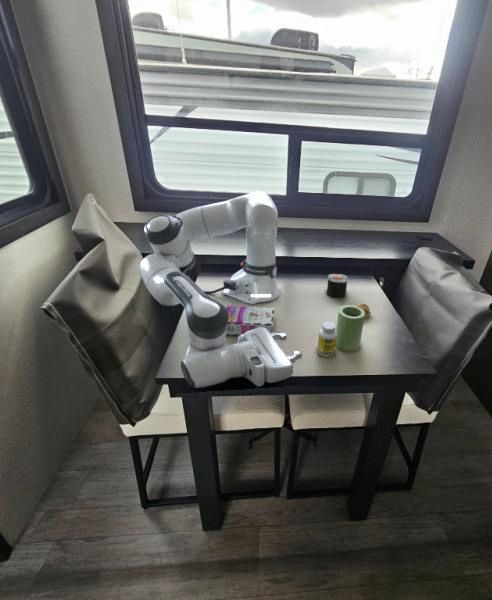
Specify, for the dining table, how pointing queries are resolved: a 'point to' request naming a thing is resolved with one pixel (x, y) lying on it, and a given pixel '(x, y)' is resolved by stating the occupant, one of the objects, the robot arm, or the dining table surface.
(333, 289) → the sushi
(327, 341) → the supplement bottle
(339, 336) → the green vase
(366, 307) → the pastry
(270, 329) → the candy bar box
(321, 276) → the dining table surface
